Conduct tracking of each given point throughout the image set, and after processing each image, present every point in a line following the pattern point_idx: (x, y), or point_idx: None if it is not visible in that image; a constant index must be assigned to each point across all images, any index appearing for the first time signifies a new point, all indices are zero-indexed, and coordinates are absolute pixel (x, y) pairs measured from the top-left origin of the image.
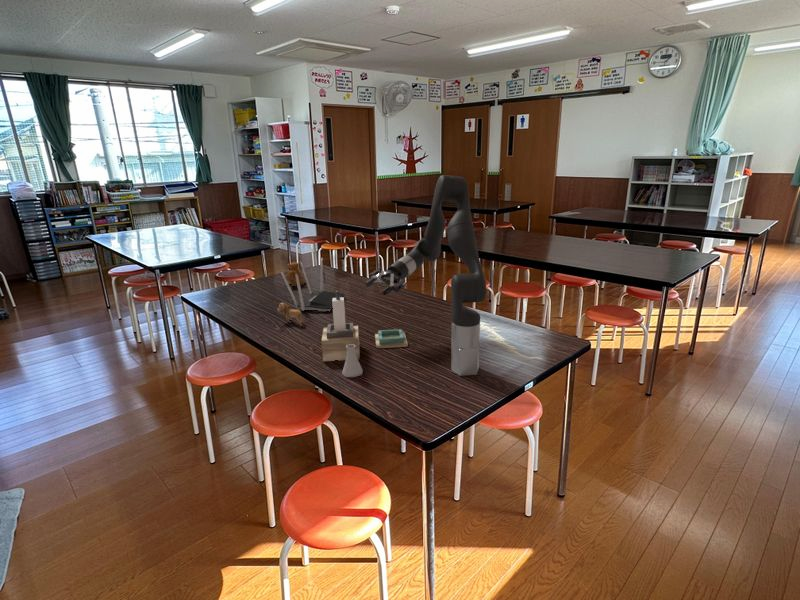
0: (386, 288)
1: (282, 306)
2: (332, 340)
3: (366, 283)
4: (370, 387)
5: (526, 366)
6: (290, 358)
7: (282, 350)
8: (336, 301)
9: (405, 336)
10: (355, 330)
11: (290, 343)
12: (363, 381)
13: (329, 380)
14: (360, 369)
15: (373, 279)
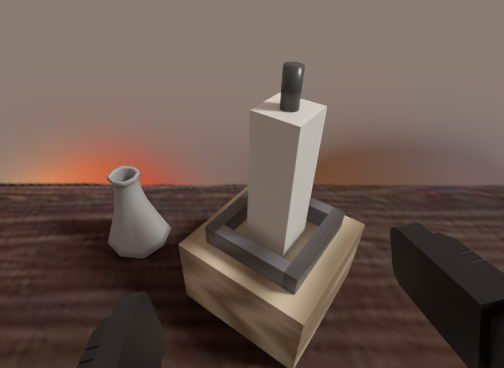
0: (108, 340)
1: None
2: (238, 194)
3: (398, 228)
4: (50, 226)
5: None
6: (325, 192)
7: (384, 198)
8: (269, 100)
9: None
10: (256, 281)
11: (425, 224)
12: (84, 231)
13: (162, 194)
14: (112, 236)
15: (492, 332)
